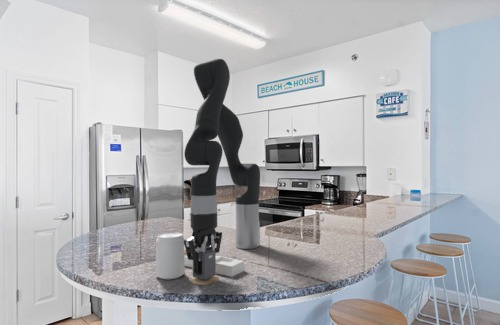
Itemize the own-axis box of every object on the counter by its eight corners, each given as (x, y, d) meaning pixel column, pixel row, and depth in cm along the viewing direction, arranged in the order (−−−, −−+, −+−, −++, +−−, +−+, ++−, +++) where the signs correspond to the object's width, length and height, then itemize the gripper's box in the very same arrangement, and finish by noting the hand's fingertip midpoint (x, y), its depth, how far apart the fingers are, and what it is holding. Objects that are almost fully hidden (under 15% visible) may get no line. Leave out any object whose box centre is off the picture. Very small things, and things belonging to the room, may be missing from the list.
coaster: (203, 273, 95) (203, 271, 95) (224, 278, 91) (224, 276, 91) (183, 281, 88) (183, 279, 88) (205, 287, 84) (205, 285, 84)
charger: (203, 272, 93) (203, 248, 93) (215, 275, 90) (215, 250, 90) (192, 276, 89) (192, 251, 89) (205, 279, 86) (205, 254, 87)
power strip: (183, 257, 112) (183, 240, 112) (244, 270, 97) (244, 251, 98) (169, 262, 107) (169, 244, 107) (231, 276, 92) (231, 256, 92)
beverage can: (186, 271, 98) (186, 231, 98) (181, 280, 90) (181, 237, 90) (160, 271, 97) (160, 232, 97) (152, 280, 89) (152, 238, 89)
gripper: (210, 207, 98) (210, 263, 98) (175, 213, 86) (176, 276, 86) (229, 209, 94) (230, 267, 94) (196, 215, 82) (196, 281, 82)
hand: (204, 271), depth 90 cm, fingers closed on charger, 4 cm apart
